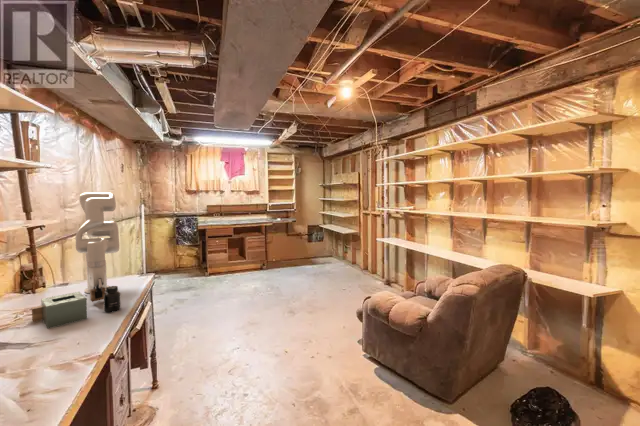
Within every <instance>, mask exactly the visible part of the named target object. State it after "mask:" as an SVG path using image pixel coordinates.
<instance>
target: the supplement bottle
mask: <svg viewBox="0 0 640 426" xmlns="http://www.w3.org/2000/svg"><path fill="white" fill-rule="evenodd" d="M109 286H110V287H107V288H106V291H105V294H104V299H103V310H104V311H103V312H104V313H108V314H109V313H110V314H111V313H115V312H118V311H120V310H121V292H120V291H119V289H118V288H119V287H118V286H117V285H109Z"/></svg>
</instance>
